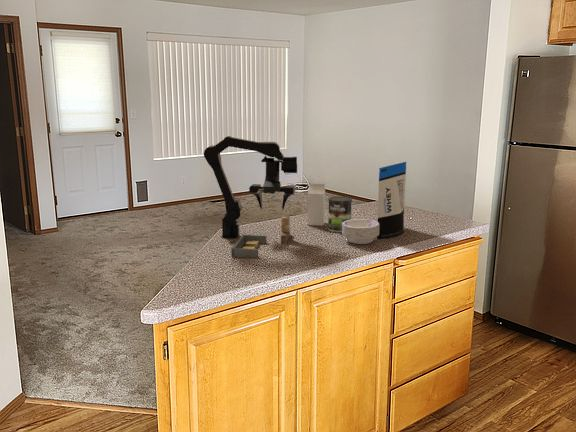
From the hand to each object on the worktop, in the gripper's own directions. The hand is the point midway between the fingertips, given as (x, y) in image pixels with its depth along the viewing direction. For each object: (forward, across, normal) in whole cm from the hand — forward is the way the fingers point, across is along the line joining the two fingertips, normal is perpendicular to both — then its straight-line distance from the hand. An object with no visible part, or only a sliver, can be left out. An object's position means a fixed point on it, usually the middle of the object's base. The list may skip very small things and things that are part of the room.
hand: (272, 209), depth 224 cm
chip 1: (+12, -5, -24) cm, 28 cm away
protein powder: (+11, +50, +11) cm, 53 cm away
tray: (+12, -5, -20) cm, 24 cm away
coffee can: (+11, +28, +15) cm, 34 cm away
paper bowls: (+11, +38, -3) cm, 39 cm away
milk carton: (+11, +17, +23) cm, 31 cm away
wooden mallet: (+12, +7, -4) cm, 14 cm away
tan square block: (+12, -5, -16) cm, 21 cm away
